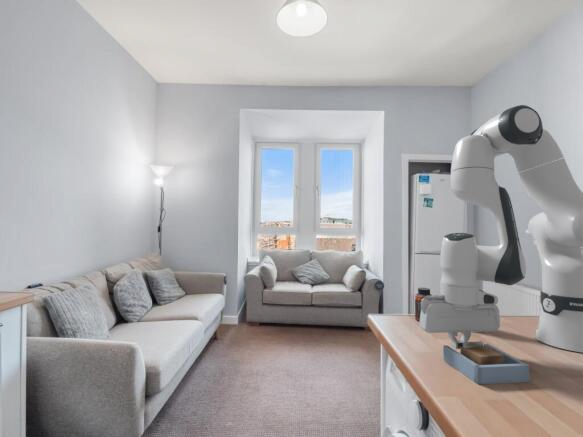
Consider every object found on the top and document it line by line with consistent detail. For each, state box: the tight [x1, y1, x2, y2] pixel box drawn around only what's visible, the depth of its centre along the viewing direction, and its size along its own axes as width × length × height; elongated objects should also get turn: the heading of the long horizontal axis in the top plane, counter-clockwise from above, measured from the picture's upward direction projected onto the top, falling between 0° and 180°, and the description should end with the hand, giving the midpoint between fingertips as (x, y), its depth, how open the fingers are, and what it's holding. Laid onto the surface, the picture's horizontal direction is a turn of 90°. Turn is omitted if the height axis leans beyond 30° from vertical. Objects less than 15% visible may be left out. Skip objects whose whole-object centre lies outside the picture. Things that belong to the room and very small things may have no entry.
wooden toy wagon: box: [460, 340, 504, 365], centre depth 71 cm, size 7×6×6 cm
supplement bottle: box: [414, 287, 433, 322], centre depth 109 cm, size 6×6×11 cm
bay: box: [442, 343, 530, 385], centre depth 71 cm, size 12×12×4 cm
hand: (459, 348), depth 80 cm, fingers closed
